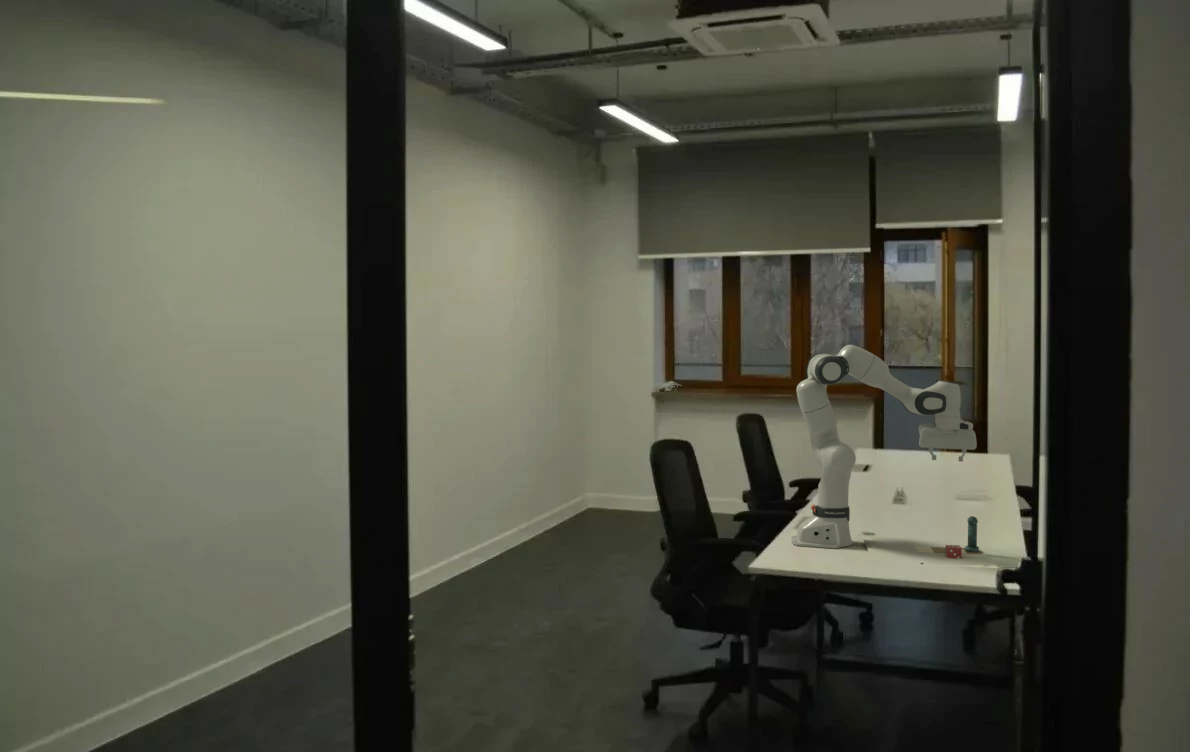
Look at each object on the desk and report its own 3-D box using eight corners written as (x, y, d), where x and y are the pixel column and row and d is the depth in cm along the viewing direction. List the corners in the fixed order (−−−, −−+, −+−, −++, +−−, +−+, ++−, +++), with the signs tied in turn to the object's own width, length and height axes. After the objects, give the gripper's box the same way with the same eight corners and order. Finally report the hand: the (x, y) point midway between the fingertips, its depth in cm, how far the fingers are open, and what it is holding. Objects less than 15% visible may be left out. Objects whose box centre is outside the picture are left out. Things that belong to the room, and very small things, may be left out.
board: (917, 555, 342) (917, 552, 342) (912, 548, 352) (912, 546, 352) (985, 557, 338) (985, 554, 338) (978, 550, 348) (978, 548, 348)
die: (948, 560, 334) (948, 547, 333) (945, 557, 338) (945, 544, 338) (961, 561, 333) (961, 548, 333) (958, 558, 337) (959, 545, 337)
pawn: (967, 552, 342) (967, 517, 341) (964, 549, 346) (964, 515, 345) (980, 552, 341) (980, 517, 340) (977, 549, 345) (977, 515, 345)
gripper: (917, 423, 360) (917, 460, 361) (976, 425, 352) (975, 463, 353) (919, 422, 366) (919, 458, 367) (977, 424, 358) (976, 460, 358)
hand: (947, 460), depth 360 cm, fingers open, 8 cm apart
